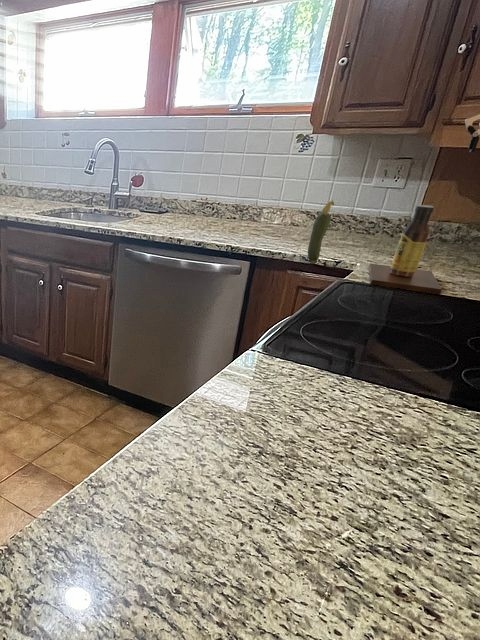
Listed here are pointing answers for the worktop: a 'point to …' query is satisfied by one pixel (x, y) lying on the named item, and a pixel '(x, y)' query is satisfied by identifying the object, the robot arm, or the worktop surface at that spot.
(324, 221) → the vegetable
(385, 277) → the board
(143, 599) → the worktop surface
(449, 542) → the worktop surface
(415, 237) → the sauce bottle
